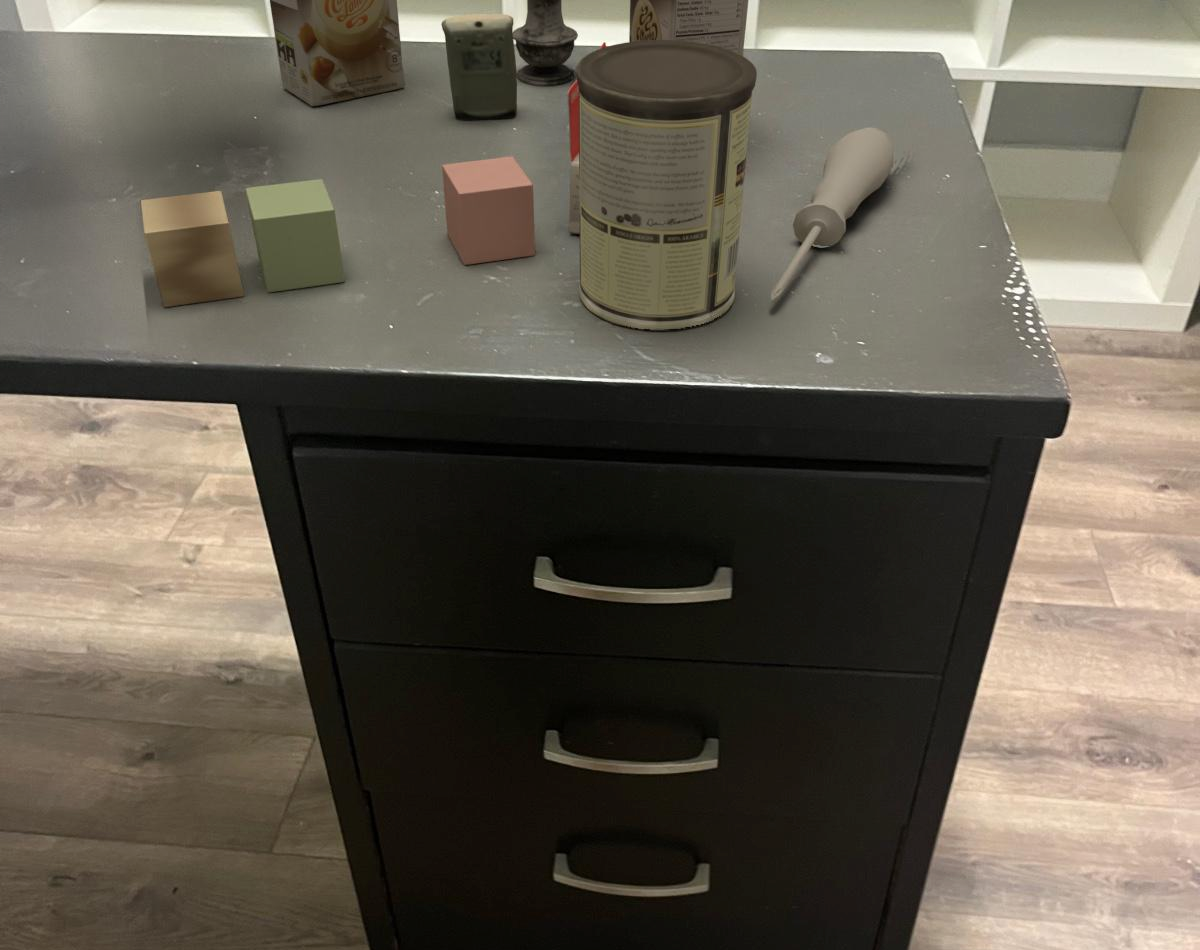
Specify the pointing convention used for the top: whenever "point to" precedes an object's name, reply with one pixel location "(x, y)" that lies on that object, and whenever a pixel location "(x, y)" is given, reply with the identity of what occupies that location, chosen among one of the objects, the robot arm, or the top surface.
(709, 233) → the coffee can
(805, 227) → the screwdriver
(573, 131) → the ink cartridge box
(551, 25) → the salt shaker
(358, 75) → the coffee box
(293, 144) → the top surface
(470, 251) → the row block
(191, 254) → the row block
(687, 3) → the coffee box
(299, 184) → the row block
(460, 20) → the grey upright labelled block
